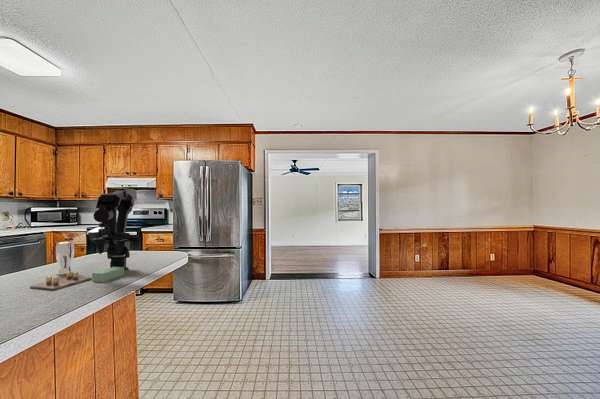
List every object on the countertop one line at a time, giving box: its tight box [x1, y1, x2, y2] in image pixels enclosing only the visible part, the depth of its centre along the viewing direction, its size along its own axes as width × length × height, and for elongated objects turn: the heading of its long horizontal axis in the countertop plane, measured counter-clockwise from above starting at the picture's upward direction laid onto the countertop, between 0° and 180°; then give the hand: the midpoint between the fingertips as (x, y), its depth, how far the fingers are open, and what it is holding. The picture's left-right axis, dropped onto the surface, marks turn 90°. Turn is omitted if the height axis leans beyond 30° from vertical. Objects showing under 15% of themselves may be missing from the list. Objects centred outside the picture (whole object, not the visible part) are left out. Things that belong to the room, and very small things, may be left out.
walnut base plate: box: [29, 271, 92, 292], centre depth 119 cm, size 16×12×4 cm
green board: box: [91, 267, 125, 283], centre depth 128 cm, size 12×6×4 cm, turn 172°
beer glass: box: [55, 240, 75, 276], centre depth 135 cm, size 7×7×15 cm
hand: (108, 254), depth 128 cm, fingers open, 9 cm apart
